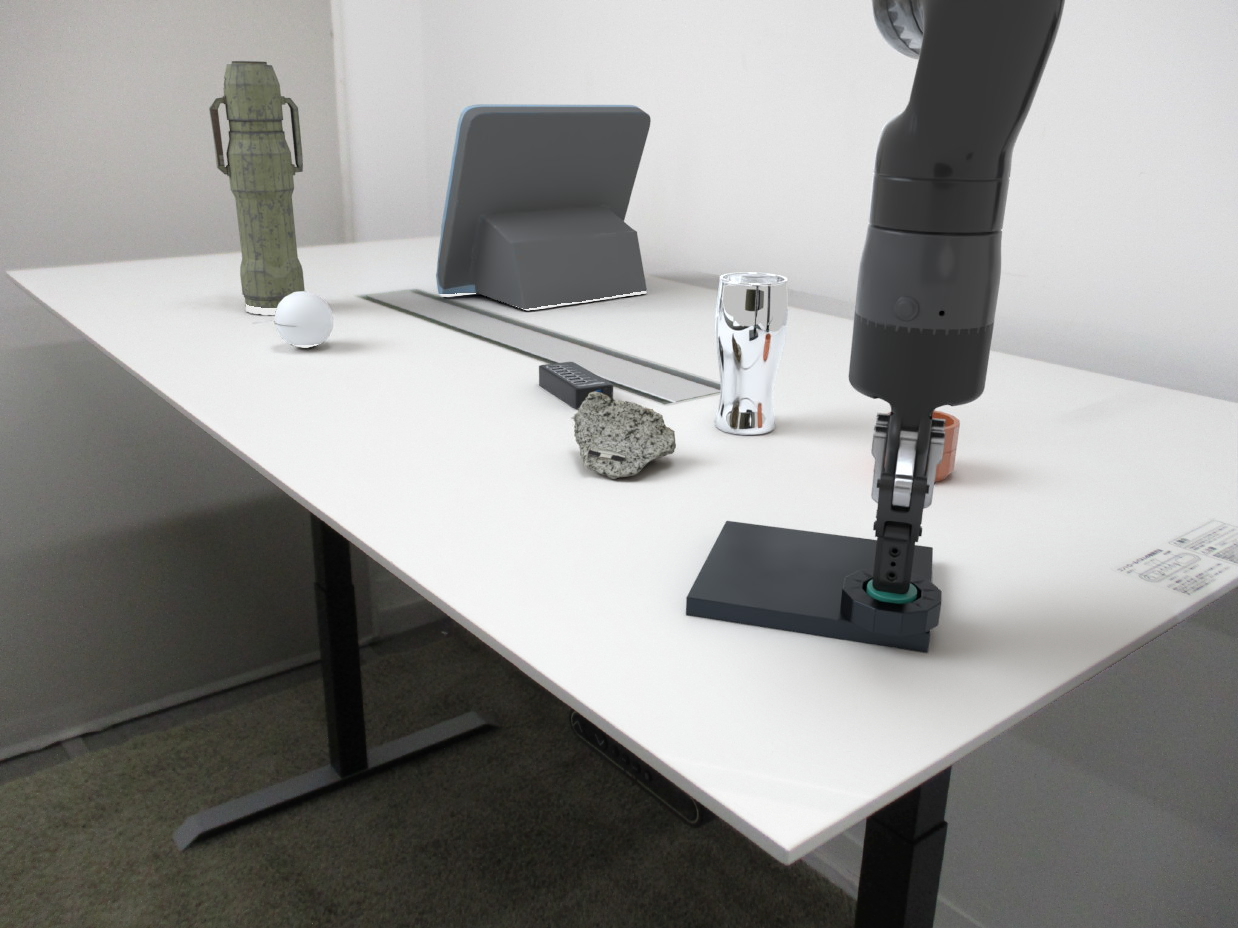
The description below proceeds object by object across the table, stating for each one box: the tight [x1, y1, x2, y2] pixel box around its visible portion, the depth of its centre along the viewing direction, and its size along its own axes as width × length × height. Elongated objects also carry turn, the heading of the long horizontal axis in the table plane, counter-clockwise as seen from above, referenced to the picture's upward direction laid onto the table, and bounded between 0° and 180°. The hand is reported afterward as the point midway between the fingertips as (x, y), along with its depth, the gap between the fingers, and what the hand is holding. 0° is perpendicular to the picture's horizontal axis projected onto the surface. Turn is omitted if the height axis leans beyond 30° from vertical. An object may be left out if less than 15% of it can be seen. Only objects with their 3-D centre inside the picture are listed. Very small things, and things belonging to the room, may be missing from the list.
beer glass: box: [714, 271, 789, 436], centre depth 100 cm, size 7×7×15 cm
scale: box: [685, 520, 943, 654], centre depth 68 cm, size 15×14×3 cm
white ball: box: [252, 290, 334, 345], centre depth 129 cm, size 10×7×7 cm
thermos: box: [208, 60, 306, 308], centre depth 147 cm, size 9×12×35 cm
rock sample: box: [570, 391, 677, 480], centre depth 90 cm, size 10×8×9 cm
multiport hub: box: [538, 361, 614, 410], centre depth 112 cm, size 4×11×2 cm, turn 27°
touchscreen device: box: [435, 103, 652, 309], centre depth 162 cm, size 35×20×30 cm, turn 130°
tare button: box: [866, 579, 917, 604], centre depth 62 cm, size 3×3×2 cm
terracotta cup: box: [885, 409, 961, 483], centre depth 89 cm, size 6×6×5 cm
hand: (890, 587), depth 62 cm, fingers closed
